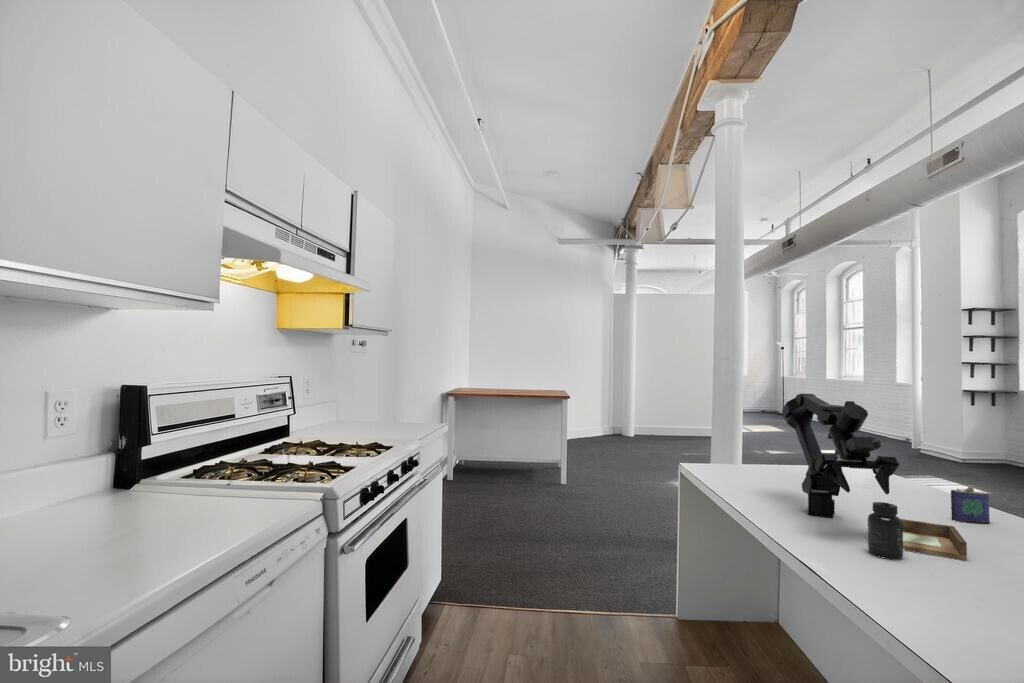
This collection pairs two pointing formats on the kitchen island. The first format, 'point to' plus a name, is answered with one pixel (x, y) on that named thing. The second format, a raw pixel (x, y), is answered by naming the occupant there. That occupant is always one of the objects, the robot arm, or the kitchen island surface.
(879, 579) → the kitchen island surface
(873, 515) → the supplement bottle
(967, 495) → the flask
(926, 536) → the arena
